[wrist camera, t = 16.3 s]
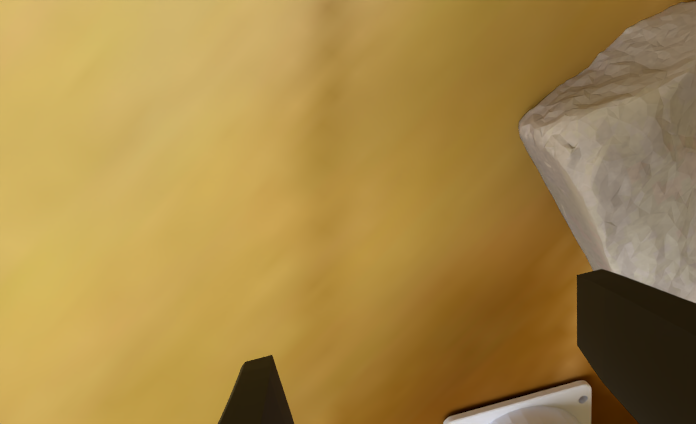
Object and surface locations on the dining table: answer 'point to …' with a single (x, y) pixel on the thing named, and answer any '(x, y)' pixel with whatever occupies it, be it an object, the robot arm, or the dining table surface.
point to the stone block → (628, 152)
